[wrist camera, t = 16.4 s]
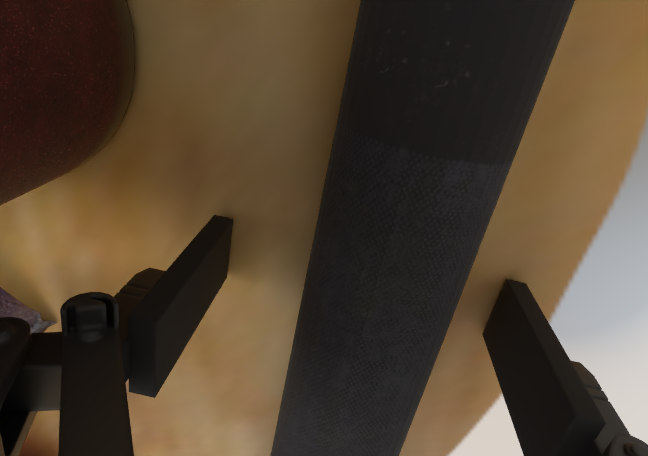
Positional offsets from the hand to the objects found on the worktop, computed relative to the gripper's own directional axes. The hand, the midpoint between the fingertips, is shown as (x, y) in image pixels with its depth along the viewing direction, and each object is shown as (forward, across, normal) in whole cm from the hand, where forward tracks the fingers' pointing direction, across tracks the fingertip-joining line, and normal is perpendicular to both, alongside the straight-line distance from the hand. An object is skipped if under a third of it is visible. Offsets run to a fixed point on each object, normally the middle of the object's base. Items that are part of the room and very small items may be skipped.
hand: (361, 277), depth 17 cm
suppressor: (-5, 0, 0) cm, 5 cm away
